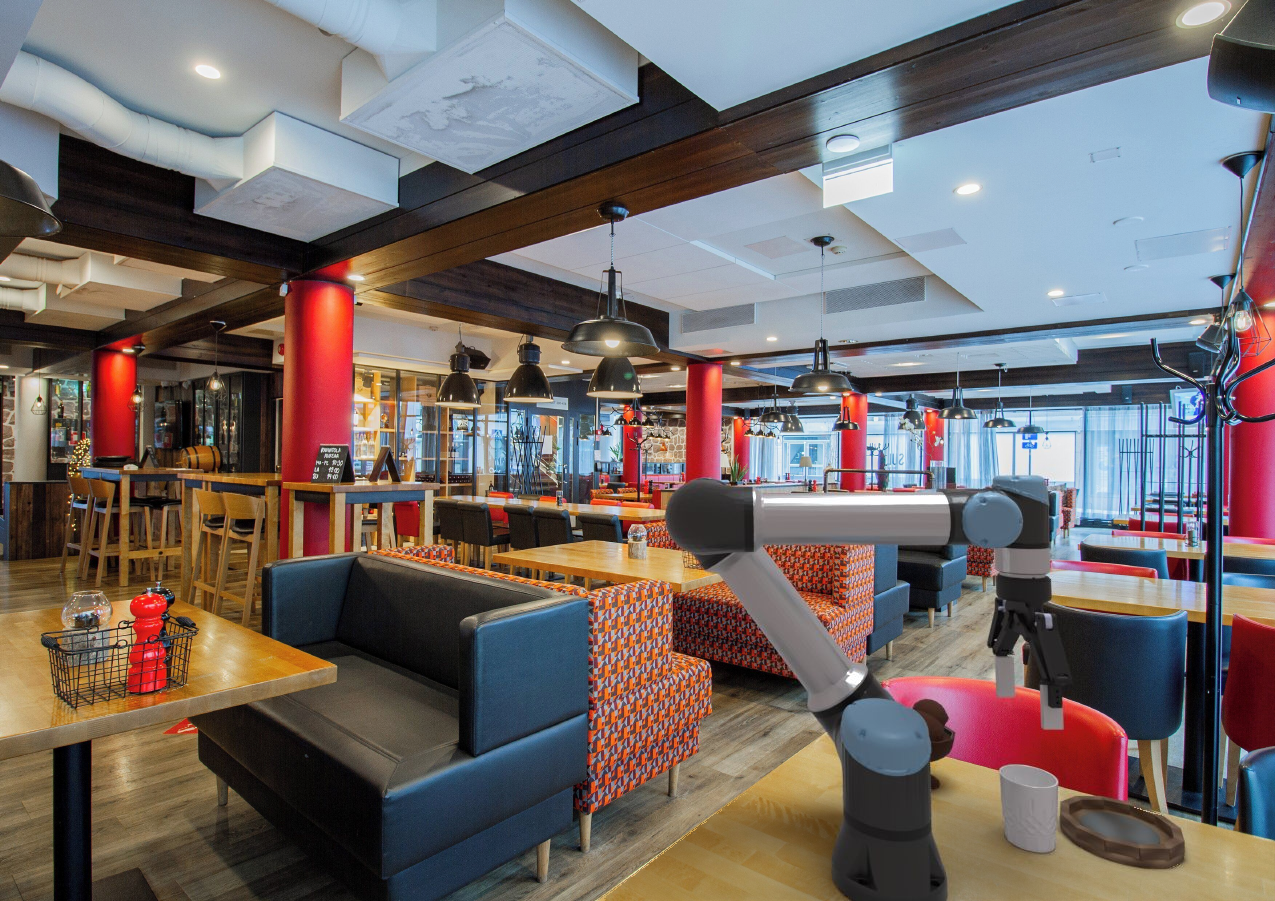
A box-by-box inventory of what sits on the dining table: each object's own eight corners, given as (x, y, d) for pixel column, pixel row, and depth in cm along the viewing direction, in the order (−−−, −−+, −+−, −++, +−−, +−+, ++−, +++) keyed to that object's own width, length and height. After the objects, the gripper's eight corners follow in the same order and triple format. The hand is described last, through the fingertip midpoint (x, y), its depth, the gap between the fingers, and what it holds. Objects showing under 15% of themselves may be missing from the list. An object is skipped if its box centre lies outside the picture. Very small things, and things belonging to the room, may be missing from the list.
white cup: (1069, 858, 99) (1067, 789, 99) (1010, 852, 100) (1009, 785, 100) (1047, 829, 106) (1046, 766, 107) (994, 825, 108) (992, 762, 108)
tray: (1099, 867, 96) (1098, 847, 96) (1040, 811, 112) (1039, 794, 112) (1212, 869, 95) (1212, 849, 95) (1136, 813, 111) (1136, 796, 111)
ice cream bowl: (907, 763, 130) (906, 686, 131) (967, 783, 122) (965, 700, 123) (881, 781, 123) (879, 699, 124) (942, 803, 115) (940, 715, 115)
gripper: (1098, 587, 92) (1104, 744, 91) (1007, 562, 117) (1011, 685, 116) (1042, 588, 92) (1047, 744, 92) (963, 562, 117) (967, 685, 116)
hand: (1027, 711), depth 104 cm, fingers open, 13 cm apart
